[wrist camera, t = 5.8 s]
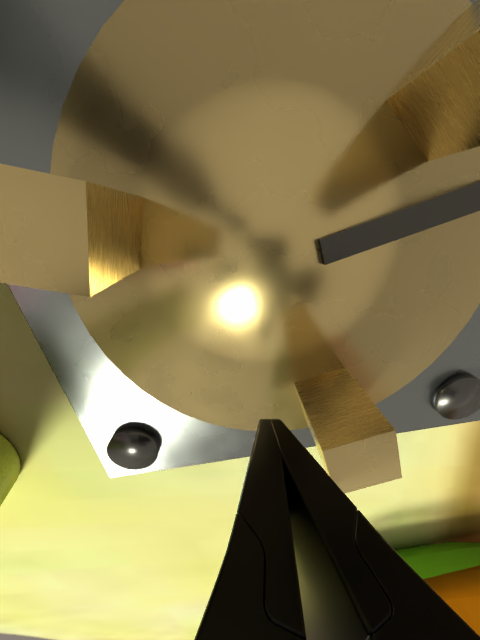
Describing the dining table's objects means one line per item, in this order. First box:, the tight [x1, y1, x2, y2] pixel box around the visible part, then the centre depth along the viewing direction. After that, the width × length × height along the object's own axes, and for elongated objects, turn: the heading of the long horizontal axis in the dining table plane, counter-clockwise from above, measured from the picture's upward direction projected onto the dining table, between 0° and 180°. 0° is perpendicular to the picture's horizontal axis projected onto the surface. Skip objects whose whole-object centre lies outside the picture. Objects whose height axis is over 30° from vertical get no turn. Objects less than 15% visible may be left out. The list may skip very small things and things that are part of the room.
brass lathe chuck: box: [0, 0, 480, 493], centre depth 7 cm, size 14×14×4 cm
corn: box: [395, 542, 480, 636], centre depth 17 cm, size 7×8×20 cm
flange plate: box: [0, 0, 480, 478], centre depth 9 cm, size 20×20×2 cm
